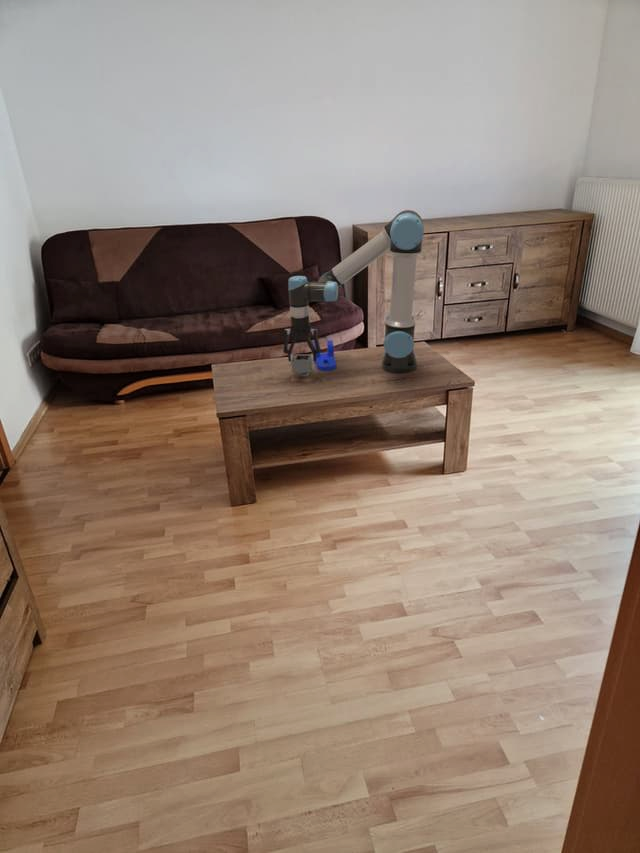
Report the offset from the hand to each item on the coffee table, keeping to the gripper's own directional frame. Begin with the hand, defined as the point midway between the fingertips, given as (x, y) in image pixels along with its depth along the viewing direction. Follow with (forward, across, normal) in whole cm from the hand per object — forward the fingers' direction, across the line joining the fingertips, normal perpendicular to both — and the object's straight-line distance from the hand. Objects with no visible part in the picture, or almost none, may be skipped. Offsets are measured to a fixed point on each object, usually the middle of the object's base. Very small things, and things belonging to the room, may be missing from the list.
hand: (303, 368), depth 239 cm
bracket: (+5, -7, -17) cm, 19 cm away
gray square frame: (0, 0, 0) cm, 0 cm away
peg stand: (+4, 0, 0) cm, 4 cm away
